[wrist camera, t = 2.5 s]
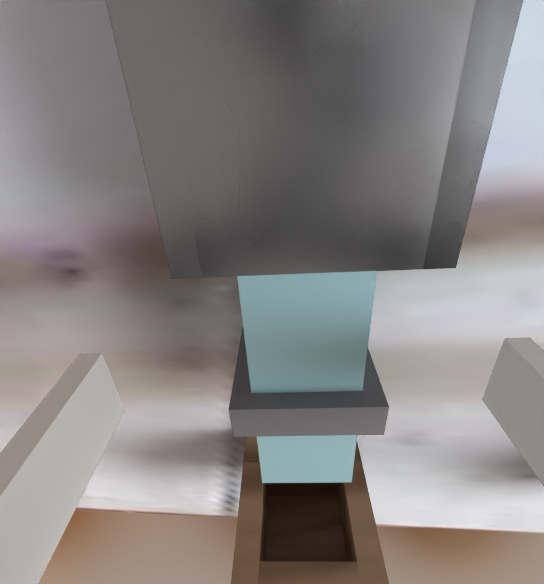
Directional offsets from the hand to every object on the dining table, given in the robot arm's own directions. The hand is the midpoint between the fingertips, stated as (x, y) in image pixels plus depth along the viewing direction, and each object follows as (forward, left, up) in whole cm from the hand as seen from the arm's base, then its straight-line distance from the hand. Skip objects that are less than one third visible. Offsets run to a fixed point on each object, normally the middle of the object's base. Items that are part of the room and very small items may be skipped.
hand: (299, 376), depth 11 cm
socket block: (+17, 0, -9) cm, 20 cm away
